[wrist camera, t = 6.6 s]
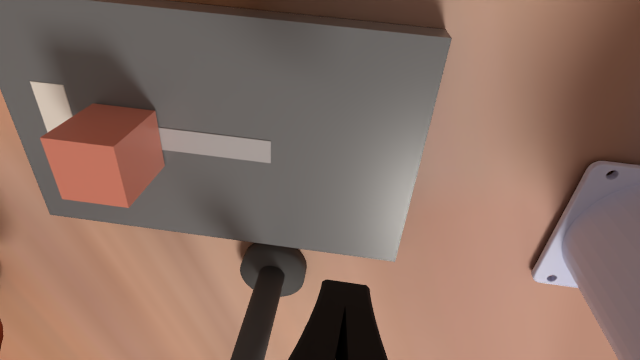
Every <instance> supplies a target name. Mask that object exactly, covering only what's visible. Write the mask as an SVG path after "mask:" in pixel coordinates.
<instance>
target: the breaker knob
mask: <svg viewBox="0 0 640 360" xmlns="http://www.w3.org/2000/svg"><path fill="white" fill-rule="evenodd" d="M40 140H41V142H42V145H43V148H44V151H45V153H46V156H47V159H48V162H49V164H50V167H51V170H52V173H53V175H54V178H55V181H56V184H57V186H58V189H59V192H60V195H61V197H62V199H66V200H73V201H80V202H88V203H95V204H103V205H110V206H118V207H125V208H129V207H130V206H131V205H132V204H133V202H134V201H135V200H136V199H137V198H138V197H139V195H140V194H141V193H142V192H143V191H144V190H145V188H146V187H147V186H148V185H149V184H150V183H151V181H152V180H153V179H154V178H155V177H156V176H157V174H158V173H159V172H160V171H161V170H162V169H163V167H164V166H165V164H164V158H163V152H162V147H161V141H160V135H159V129H158V123H157V118H156V112H155V111H153V110H145V109H136V108H128V107H120V106H111V105H103V104H94V103H93V104H91V105H90V106H88V107H87V108H85V109H83V110H82V111H80V112H79V113H77V114H76V115H74V116H73V117H71V118H69V119H68V120H66V121H65V122H63V123H62V124H60V125H59V126H57V127H56V128H54V129H52V130H51V131H49V132H48V133H46V134H45V135H43V136H42V137H40Z"/></svg>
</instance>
